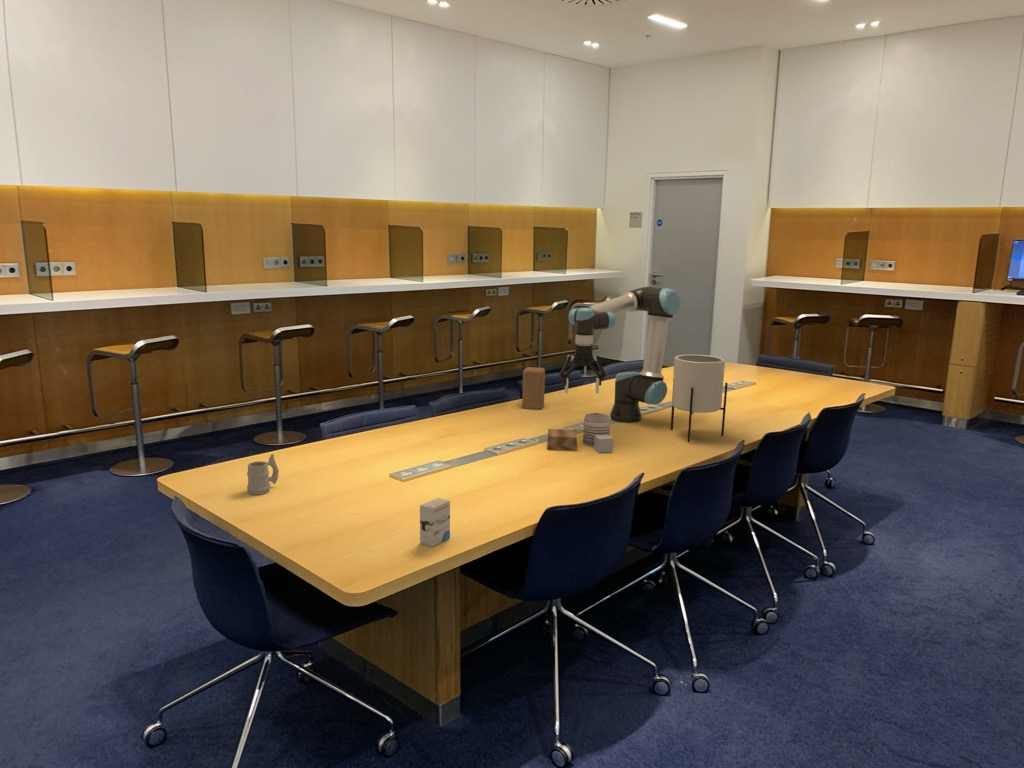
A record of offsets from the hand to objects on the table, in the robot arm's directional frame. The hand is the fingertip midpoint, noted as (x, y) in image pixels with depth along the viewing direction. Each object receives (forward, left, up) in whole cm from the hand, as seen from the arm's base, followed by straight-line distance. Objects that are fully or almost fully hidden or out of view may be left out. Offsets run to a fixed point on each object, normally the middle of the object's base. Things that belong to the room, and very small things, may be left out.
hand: (581, 392), depth 331 cm
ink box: (+50, +115, -21) cm, 126 cm away
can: (-7, +6, -21) cm, 23 cm away
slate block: (-9, +17, -21) cm, 28 cm away
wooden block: (+20, -58, -21) cm, 65 cm away
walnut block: (+8, +12, -21) cm, 26 cm away
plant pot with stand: (-52, -9, -21) cm, 56 cm away
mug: (+113, +76, -21) cm, 138 cm away
